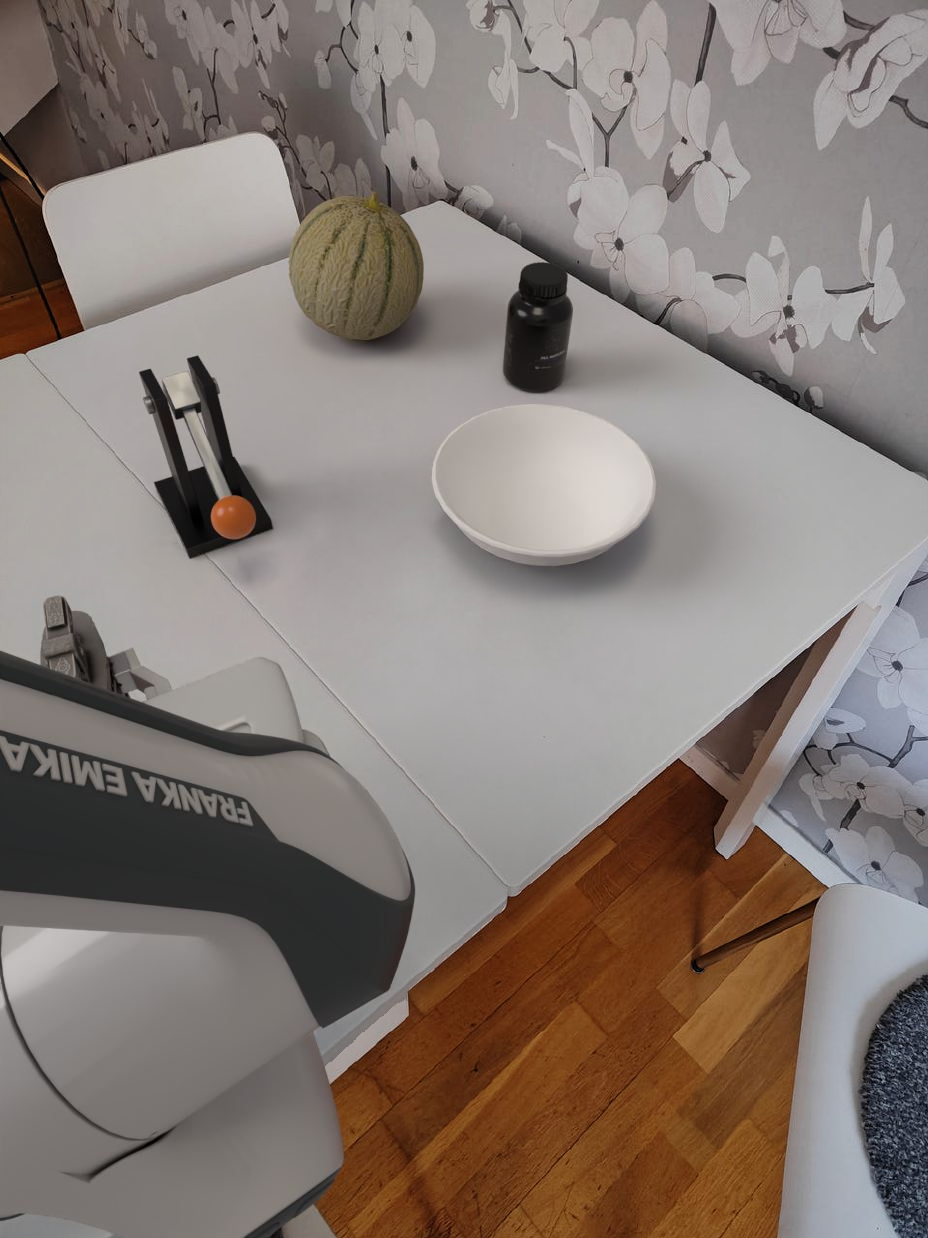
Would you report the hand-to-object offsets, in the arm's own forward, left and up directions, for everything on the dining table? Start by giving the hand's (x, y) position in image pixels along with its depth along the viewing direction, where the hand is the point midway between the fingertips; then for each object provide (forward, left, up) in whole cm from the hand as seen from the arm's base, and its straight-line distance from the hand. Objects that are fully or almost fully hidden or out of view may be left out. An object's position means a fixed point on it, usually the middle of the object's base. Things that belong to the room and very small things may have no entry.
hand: (80, 674), depth 49 cm
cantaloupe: (+39, +49, -17) cm, 65 cm away
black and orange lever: (+14, +28, -17) cm, 35 cm away
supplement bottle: (+52, +32, -17) cm, 63 cm away
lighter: (0, -1, -6) cm, 6 cm away
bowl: (+40, +12, -17) cm, 45 cm away
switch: (+14, +24, -8) cm, 29 cm away
